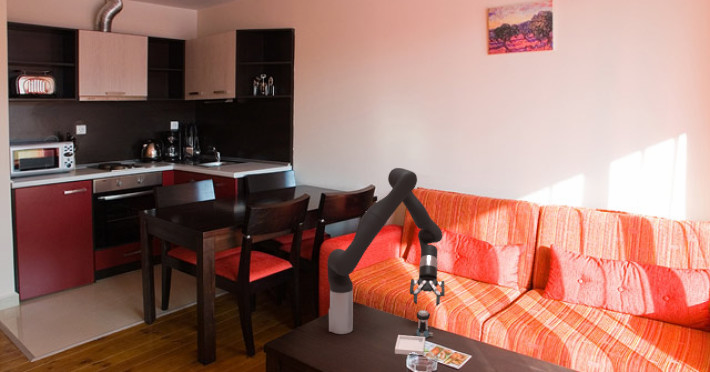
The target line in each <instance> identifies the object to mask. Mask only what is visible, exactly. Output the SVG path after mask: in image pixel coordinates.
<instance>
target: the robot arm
mask: <svg viewBox="0 0 710 372" xmlns="http://www.w3.org/2000/svg"><path fill="white" fill-rule="evenodd" d="M387 182H388V185H390V187H391V188H392V189H391V190H390V191H389V193H388V194H387V195H386V196H384V197H383V198H381V199H380V200H378V201H376V202H375V203H373V204H372V205H371V206H370V207H368V209H367V210H366V211H365V213H364V214H363V215H362V217H361V218H360V219H359V220H358V221H359V222H358V224H357V227H356V231H355V235H354V237H353V239H352V241H351V243H349V245H348V247H346V249H345V250H344V249H342V248H336V249H333V250H332V251H331V252H330V253H329V255H328V257H327V261H326V262H327V280H328V284H329V308H328V332H329V333H330V332H331V333H334V334H336V335H337V334H338V335H345V334H349V333H351V332H352V331H353V330H354V329H353V328H354V327H353V326H354V325H353V324H354V322H353V321H354V319H353V318H354V314H353V313H354V309H353V308H354V306H353V305H354V301H353V300H354V299H353V297H354V296H353V295H354V294H353V293H354V288H353V287H354V284H353V281H352V279H351V277H350V275H351V274H352V273H353V272H354V271H355V269H356V268H357V266H358V264H359V262H360V261H361V259H362V257H363V256H364V254H365V253H366V252H367V250H368V247H370V246H371V244H372V243H373V241H374V240H375V238H376V237H377V235H379V233H380V232H381V231H382V229H383V228H384V227H385V225H386V224H387V222H388V221H389V220H390V218H391V216H392V215H393V214H394V213H395V211H396V210H397V209H398V207H399V206H401V204H402V203H403V205H404V206H405V208H406V210H407V211H408V214H409V215H410V217H411V219H412V221H413V222H414V224H415V226H416V228H417V229H420V230H419V231H418V233H417V236H418V237H417V238H418V241H419V246H420V251H421V252H420V260H419V271H418V279H414V278H412V279H410V285H409V294H410V295H413V303H414V304H415V305H418V295H419V294H420V293H422V291H423V292H433V293H434V295H436V296H435V297H436V301H435V303H436V304H435V305H436V306H437V307H438V306H439V305H440V303H441V297H445V296H446V295H445V294H446V293H445V292H446V291H445V281H444V280H441V281H438V268H439V267H438V248H437V247H436V246H435V245H434V243H435V244H436V243H440V242H441V240H442V239H443V232H442V229H441V228H440V226H439V225H437V224H436V222H435V221H434V220H433V219H432V218H431V216H430V215H429V212H428V211H427V208H426V207H425V206H424V204H423V203H422V202H421V201H420V199H419V198H418V197H417V196H416V195H415V194H414V192H413V190H414V189H415V187H416V185H417V183H418V177H417V174H416V173H415V172H414V171H413V170H408V169H405V168H401V167H394V168H393V169H391V171H390V172H389V173H388V177H387ZM416 285H418V286H417V288H416V289H415V290H414V286H416ZM438 286H439V288H441V289H440V290H441V292H440V291H439V289H438V288H437V287H438Z"/></svg>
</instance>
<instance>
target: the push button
mask: <svg viewBox="0 0 710 372" xmlns="http://www.w3.org/2000/svg"><path fill="white" fill-rule="evenodd" d="M430 317H431V313H430V312H429V311H428V310H423V309H421V310H419V311H418V312H416V318H417V319H418V327H417V329H416V336H418V337H425V338H429V337H433V336H434V335H433V334H434V333H433V332H430V328H429V327H428V323H429V319H430Z"/></svg>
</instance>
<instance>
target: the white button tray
mask: <svg viewBox="0 0 710 372" xmlns="http://www.w3.org/2000/svg"><path fill="white" fill-rule="evenodd" d="M425 344H426V337H421V336H417V335H415V336H414V335H404V334H403V335H402V334H398V335H397V338H396V343H395V347H394V354H395V355H407V356H409V355H408V354H409V353H412V352H415V353H417V354H419V355H423V356H424V353H425Z"/></svg>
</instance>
